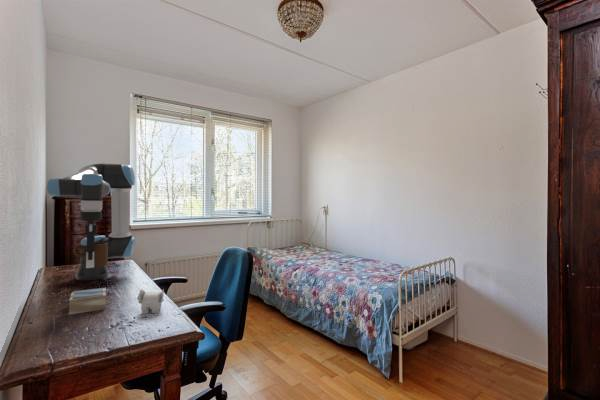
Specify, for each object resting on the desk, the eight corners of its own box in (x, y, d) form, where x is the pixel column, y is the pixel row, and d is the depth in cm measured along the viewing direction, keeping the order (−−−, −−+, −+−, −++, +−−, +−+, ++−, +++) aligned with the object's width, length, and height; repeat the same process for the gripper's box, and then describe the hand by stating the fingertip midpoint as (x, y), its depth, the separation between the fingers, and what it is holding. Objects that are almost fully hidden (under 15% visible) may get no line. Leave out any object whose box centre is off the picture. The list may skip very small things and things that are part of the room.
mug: (71, 269, 120) (71, 245, 120) (74, 265, 127) (74, 243, 127) (106, 266, 126) (107, 244, 126) (107, 263, 133) (108, 241, 133)
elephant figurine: (168, 305, 131) (168, 284, 131) (160, 315, 119) (160, 292, 119) (144, 305, 129) (145, 285, 129) (134, 316, 117) (134, 293, 117)
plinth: (71, 305, 128) (72, 291, 128) (105, 300, 135) (105, 287, 135) (69, 314, 118) (69, 299, 118) (105, 309, 124) (105, 294, 124)
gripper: (81, 210, 133) (80, 262, 133) (78, 212, 116) (77, 271, 116) (102, 210, 137) (101, 260, 137) (102, 212, 120) (101, 269, 120)
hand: (90, 265), depth 126 cm, fingers closed on mug, 7 cm apart
